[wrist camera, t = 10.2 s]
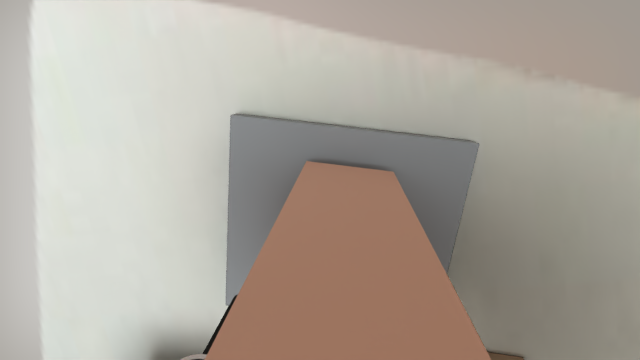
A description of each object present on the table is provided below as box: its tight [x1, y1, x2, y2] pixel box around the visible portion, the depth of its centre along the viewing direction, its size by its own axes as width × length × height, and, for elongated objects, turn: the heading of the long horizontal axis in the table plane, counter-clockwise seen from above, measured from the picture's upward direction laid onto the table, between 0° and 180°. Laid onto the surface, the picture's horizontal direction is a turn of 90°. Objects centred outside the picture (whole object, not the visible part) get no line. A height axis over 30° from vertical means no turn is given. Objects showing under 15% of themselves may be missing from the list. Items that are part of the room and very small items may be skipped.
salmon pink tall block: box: [205, 161, 491, 360], centre depth 10 cm, size 4×8×12 cm, turn 174°
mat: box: [226, 114, 479, 306], centre depth 17 cm, size 12×11×1 cm
